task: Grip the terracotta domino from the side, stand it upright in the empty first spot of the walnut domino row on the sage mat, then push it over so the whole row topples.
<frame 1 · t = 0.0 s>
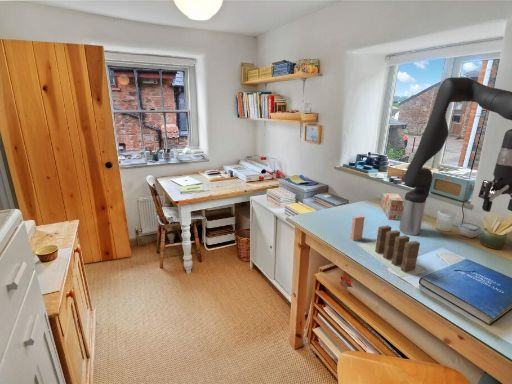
hand: (498, 210, 94), 29 cm above the table, tool pointing down, fingers open, 8 cm apart
domino 4: (398, 263, 117), resting on domino mat
domino 5: (407, 270, 112), resting on domino mat
domino 2: (381, 251, 126), resting on domino mat
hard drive: (453, 264, 118), on the table
loose domino: (356, 239, 138), on the table
domino mat: (388, 257, 122), on the table
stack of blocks: (389, 213, 170), on the table
domino 3: (389, 257, 121), resting on domino mat
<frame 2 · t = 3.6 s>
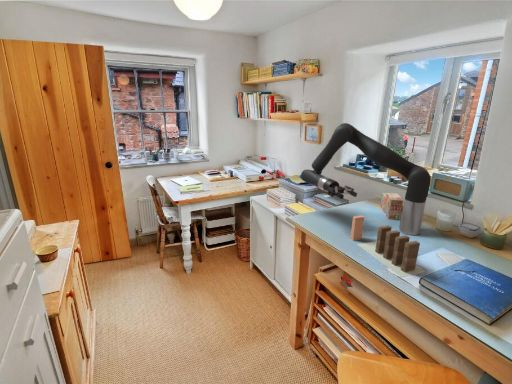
hand: (349, 196, 138), 20 cm above the table, tool horizontal, fingers open, 8 cm apart
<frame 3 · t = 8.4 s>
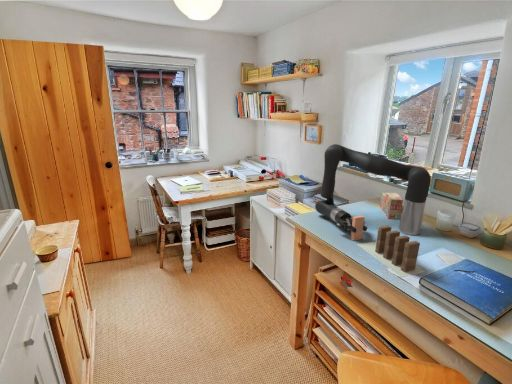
hand: (360, 230, 134), 6 cm above the table, tool horizontal, fingers closed on loose domino, 5 cm apart
loose domino: (356, 239, 138), on the table, touching gripper
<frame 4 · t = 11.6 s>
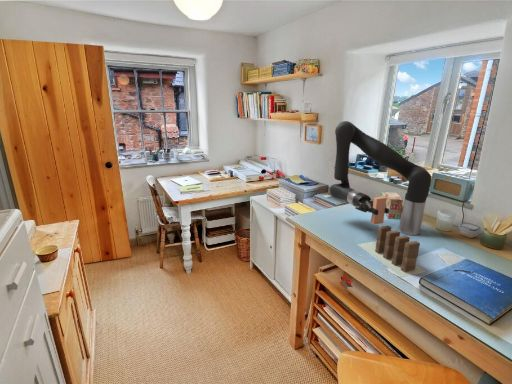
hand: (382, 212, 123), 18 cm above the table, tool horizontal, fingers closed on loose domino, 5 cm apart
loose domino: (376, 223, 127), point 12 cm above the table, touching gripper
when the fingers open (8 cm above the table, at t = 14.5 s): loose domino stays where it is, resting on domino mat.
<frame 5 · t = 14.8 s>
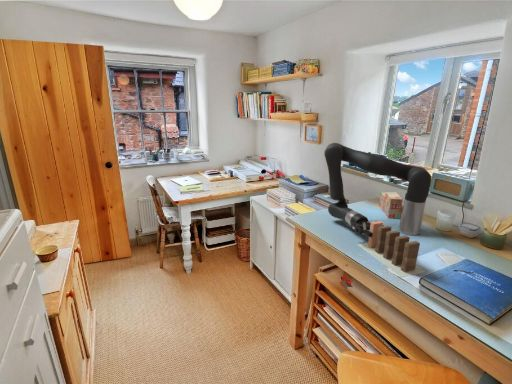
hand: (379, 234, 126), 8 cm above the table, tool horizontal, fingers open, 7 cm apart
loose domino: (373, 246, 131), resting on domino mat
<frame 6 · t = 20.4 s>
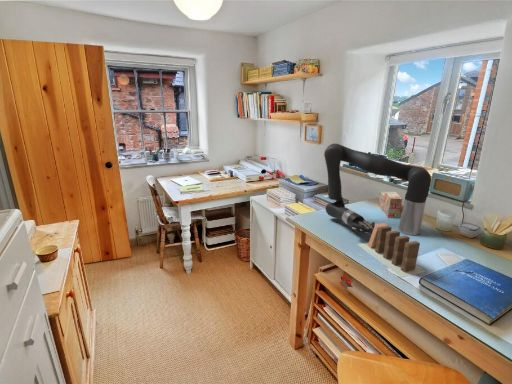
hand: (375, 233, 128), 7 cm above the table, tool horizontal, fingers closed
loose domino: (373, 246, 130), point 1 cm above the table, tilted 13°, touching domino mat
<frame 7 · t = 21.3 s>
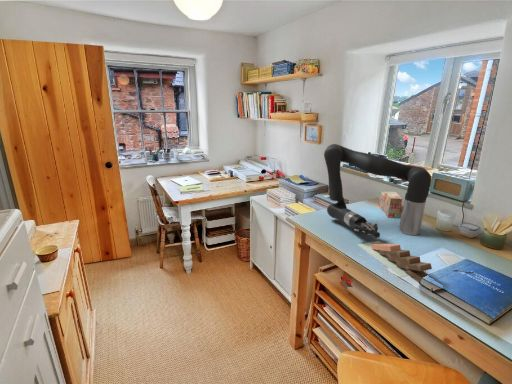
hand: (378, 235, 127), 7 cm above the table, tool horizontal, fingers closed
domino 4: (401, 263, 115), point 1 cm above the table, tilted 66°, touching domino 3, domino 5
domino 5: (411, 269, 111), point 1 cm above the table, tilted 92°, touching domino 4, domino mat
domino 2: (383, 251, 124), point 1 cm above the table, tilted 66°, touching domino 3, loose domino
loose domino: (376, 246, 129), point 1 cm above the table, tilted 66°, touching domino 2, domino mat
domino 3: (392, 257, 120), point 1 cm above the table, tilted 66°, touching domino 2, domino 4, domino mat
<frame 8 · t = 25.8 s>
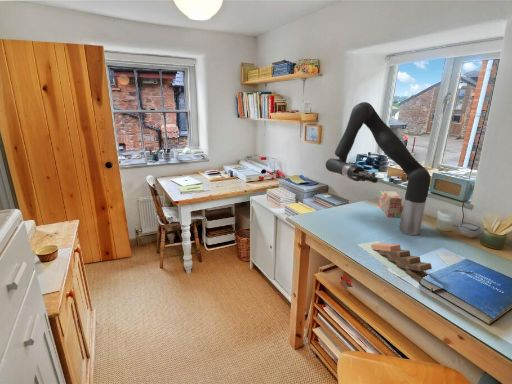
hand: (376, 180, 128), 30 cm above the table, tool horizontal, fingers closed
at the end: domino 5 tilted 92°; loose domino tilted 66°; loose domino 5.1 cm from the domino 2 (horizontally) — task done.
